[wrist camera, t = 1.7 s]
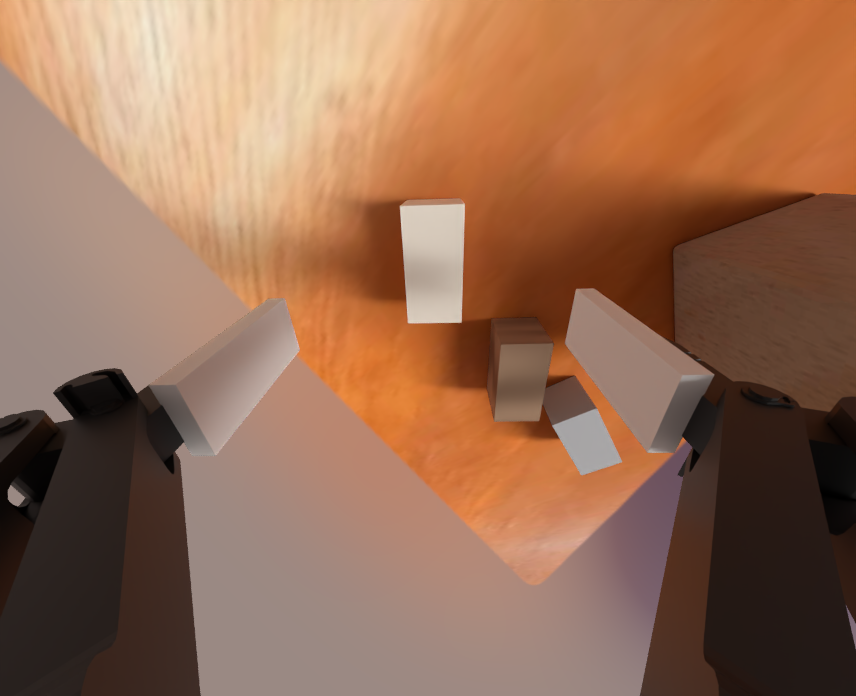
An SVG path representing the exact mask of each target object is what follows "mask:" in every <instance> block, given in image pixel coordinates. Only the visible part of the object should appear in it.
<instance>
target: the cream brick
mask: <svg viewBox="0 0 856 696" xmlns="http://www.w3.org/2000/svg"><path fill="white" fill-rule="evenodd" d="M400 216H401V230H402V244H403V258H404V272H405V286H406V301H407V315H408V323H462V290H463V254H464V218H465V204H464V202H463V201H462V200H461V198H449V199H418V200H406V201H405V202H404V203H403V204H402V205H400Z"/></svg>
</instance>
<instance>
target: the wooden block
mask: <svg viewBox="0 0 856 696" xmlns="http://www.w3.org/2000/svg"><path fill="white" fill-rule="evenodd" d="M673 271H674V316H675V342H676V343H678V344H680V345H681V346H683V347H684V348H686V349H687V350H689V351H690V352H691V354H694V355H696V356H697V357H699V358H700V359H701V361H704V362H706V363H707V364H709V365H710V366H712V367H713V368H714V369H716V370H717V371H719V372H720V373H722V374H723V375H725V376H726V377H727V378H729V379H730V380H732V381H733V382H735V381H747V382H752V383H757V384H762V385H765V386H768V387H771V388H774V389H776V390H778V391H780V392H783V393H785V394H787V395H788V396H790V397H791V398H793V399H794V400H795V401H797V402H798V404H799V405H800V407H802V408H808V409H814V410H821V411H827V412H830V411H831V410H832V408H833V407H834V406H835V405H836V403H837V402H838V401H839V400H840V399H841V398H842V397H851V396H853V397H856V195H847V194H828V193H823V194H819V195H816V196H813V197H810V198H808V199H805V200H802V201H799V202H796V203H794V204H791V205H788V206H785V207H783V208H780V209H777V210H774V211H771V212H769V213H766V214H763V215H760V216H757V217H755V218H752V219H749V220H746V221H743V222H741V223H738V224H735V225H732V226H730V227H727V228H724V229H721V230H718V231H716V232H713V233H710V234H707V235H704V236H702V237H699V238H696V239H693V240H690V241H688V242H685V243H682V244H679V245H677V246H676V247H674V250H673Z"/></svg>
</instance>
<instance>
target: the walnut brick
mask: <svg viewBox="0 0 856 696" xmlns="http://www.w3.org/2000/svg"><path fill="white" fill-rule="evenodd" d="M553 345H554V343H553V341H552V340H551V338H550V337H549V335H548V334H547V333H546V331H545V330H544V328H543V327H542V325H541V324H540V322H539V321H538V319H537V318H536V317H522V318H492V319H491V334H490V349H489V363H488V378H487V391H488V396H489V400H490V405H491V409H492V414H493V418H494V422H499V421H539V419H540V414H541V409H542V403H543V398H544V393H545V388H546V382H547V377H548V372H549V366H550V361H551V356H552V351H553Z"/></svg>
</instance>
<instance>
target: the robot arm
mask: <svg viewBox="0 0 856 696" xmlns="http://www.w3.org/2000/svg"><path fill="white" fill-rule="evenodd" d="M565 345H566V346H567V347H568V349H569V350H570V351H571V353H572V354H573V355H574V357H575V358H576V359H577V360H578V362H579V363H580V364H581V366H582V367H583V368H584V370H585V371H586V372H587V374H588V375H589V376H590V378H591V379H592V380H593V382H594V383H595V384H596V386H597V387H598V388H599V389H600V391H601V392H602V393H603V395H604V396H605V397H606V399H607V400H608V401H609V403H610V404H611V405H612V407H613V408H614V409H615V411H616V412H617V413H618V415H619V416H620V417H621V418H622V420H623V421H624V422H625V424H626V425H627V426H628V428H629V429H630V430H631V432H632V433H633V434H634V436H635V437H636V438H637V440H638V441H639V442H640V444H641V445H642V446H643V447H644V449H645V450H646V451H647V453H675V451H676V449H677V447H678V445H679V443H680V441H681V439H682V437H683V438H684V439H685V440H686V441H687V442H688V443H689V444H690V445H691V446H692V447H693V448H692V449H691V451H690V453H689V455H688V457H687V459H686V460H685V462H684V464H683V466H682V468H681V470H680V471H679V473H678V475H679V476H681V477H683V481H682V486H681V492H680V497H679V502H678V507H677V512H676V517H675V522H674V527H673V532H672V537H671V543H670V547H669V552H668V557H667V562H666V568H665V573H664V577H663V582H662V588H661V593H660V597H659V603H658V608H657V613H656V618H655V623H654V628H653V633H652V638H651V643H650V648H649V653H648V658H647V663H646V668H645V673H644V678H643V683H642V689H641V693H640V696H856V649H855V644H854V640H853V635H852V631H851V626H850V622H849V618H848V613H847V609H846V606H847V608H848V610H849V611H850V613H851V615H852V617H853V619H854V621H855V623H856V397H853V396H851V397H842V398H841V399H840V400H839V401H838V402H837V403H836V405H835V406H834V407H833V408H832V410H831V411H830V412H827V411H821V410H814V409H808V408H802V407H800V405H799V404H798V402H797V401H795V400H794V399H793V398H791V397H790V396H788V395H787V394H785V393H783V392H780V391H778V390H776V389H774V388H771V387H768V386H765V385H762V384H757V383H752V382H747V381H735V382H733V381H732V380H730V379H729V378H727V377H726V376H725V375H723V374H722V373H720V372H719V371H717V370H716V369H714V368H713V367H712V366H710V365H709V364H707V363H706V362H704V361H701V359H700V358H699V357H697V356H696V355H694V354H691V352H690V351H689V350H687V349H686V348H684V347H683V346H681V345H680V344H678V343H676V342H673V341H671V340H669V339H666V338H664V337H661V336H660V335H658V334H657V333H656V332H654V331H653V330H651V329H650V328H649V327H647V326H646V325H644V324H643V323H642V322H640V321H639V320H637V319H636V318H635V317H633V316H632V315H631V314H629V313H628V312H626V311H625V310H624V309H622V308H621V307H619V306H618V305H617V304H615V303H614V302H612V301H611V300H610V299H608V298H607V297H605V296H604V295H603V294H601V293H600V292H598V291H597V290H596V289H594V288H589V289H576V292H575V297H574V302H573V307H572V311H571V316H570V321H569V326H568V331H567V336H566V341H565ZM299 351H300V349H299V345H298V342H297V338H296V335H295V332H294V328H293V325H292V321H291V318H290V314H289V311H288V308H287V304H286V301H285V298H275V299H267V300H266V301H265V302H263V303H262V304H261V305H259V306H258V307H256V308H255V309H254V310H252V311H251V312H249V313H248V314H247V315H245V316H244V317H243V318H241V319H240V320H238V321H237V322H236V323H234V324H233V325H231V326H230V327H229V328H227V329H226V330H224V331H223V332H222V333H220V334H219V335H218V336H216V337H215V338H213V339H212V340H211V341H209V342H208V343H206V344H205V345H204V346H202V347H201V348H199V349H198V350H197V351H195V352H194V353H193V354H191V355H190V356H188V357H187V358H186V359H184V360H183V361H181V362H180V363H179V364H177V365H176V366H174V367H173V368H172V369H170V370H169V371H167V372H166V373H165V374H163V375H162V376H161V377H159V378H158V379H156V380H155V381H154V382H152V383H151V384H149V385H148V386H147V387H146V388H144V389H143V390H141V391H140V392H139V393H136V392H135V390H134V389H133V387H132V385H131V384H130V382H129V381H128V379H127V378H126V376H125V375H124V373H123V372H122V370H121V369H115V368H114V369H104V370H99V371H95V372H91V373H89V374H85V375H82V376H79V377H77V378H75V379H73V380H70V381H68V382H66V383H65V384H64V385H62V386H60V387H58V388H57V389H56V390H55V391H54V392H53V394H54V395H55V396H56V397H57V398H58V400H59V401H60V402H61V403H62V404H63V406H64V407H65V408H66V409H67V410H68V412H69V413H70V414H71V415H72V417H73V418H74V419H73V420H68V421H63V422H58V423H54V422H53V421H52V420H51V418H49V416H48V415H47V414H46V413H45V412H44V411H43V410H33V411H26V412H22V413H19V414H12V415H9V416H6V417H4V418H1V419H0V696H201V695H200V686H199V676H198V662H197V651H196V640H195V627H194V616H193V604H192V593H191V581H190V570H189V560H188V559H189V558H188V547H187V534H186V523H185V511H184V499H183V488H182V476H181V465H180V459H179V457H178V456H177V454H176V453H175V451H176V450H177V449H178V448H179V446H181V444H182V443H183V442H184V443H185V445H186V446H187V448H188V450H189V451H190V453H191V455H192V456H216V454H217V453H218V452H219V451H220V450H221V448H222V447H223V445H225V443H226V442H227V441H228V440H229V438H230V437H231V436H232V435H233V433H234V432H235V431H236V430H237V428H238V427H239V426H240V425H241V423H242V422H243V421H244V419H245V418H246V417H247V416H248V415H249V413H250V412H251V411H252V410H253V408H254V407H255V406H256V405H257V403H258V402H259V401H260V399H261V398H262V397H263V396H264V394H265V393H266V392H267V391H268V389H269V388H270V387H271V386H272V384H273V383H274V382H275V381H276V379H277V378H278V377H279V376H280V374H281V373H282V372H283V371H284V369H285V368H286V367H287V366H288V364H289V363H290V362H291V361H292V359H293V358H294V357H295V356H296V354H297V353H298V352H299ZM683 475H684V476H683ZM10 485H12V486H13V487H14V488H15V489H16V490H18V492H20V493H21V494H22V495H23V496H24V497H25V499H24V501H23V502H22V503H21V504H20V505H19V506H18V507H17V506H15V505H13V504H12V503H10V502H9V500H8V489H9V487H10Z"/></svg>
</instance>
